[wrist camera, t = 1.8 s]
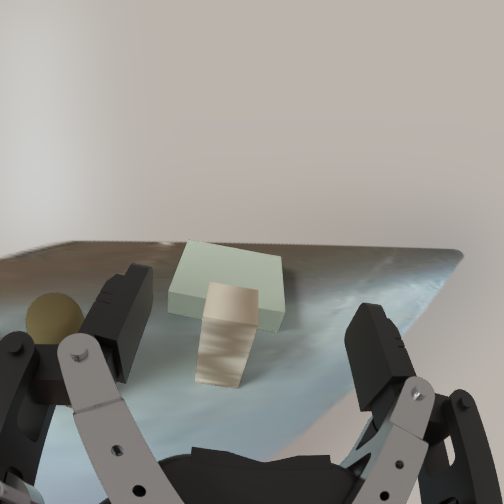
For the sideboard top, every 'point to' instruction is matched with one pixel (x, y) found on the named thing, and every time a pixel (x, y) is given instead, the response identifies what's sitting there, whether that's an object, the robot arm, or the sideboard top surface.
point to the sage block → (227, 280)
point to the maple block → (226, 334)
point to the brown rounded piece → (53, 319)
